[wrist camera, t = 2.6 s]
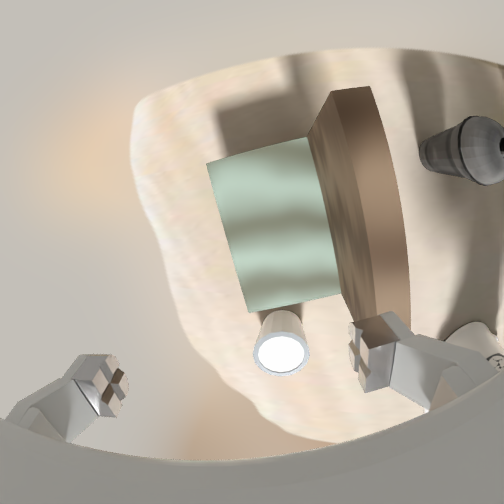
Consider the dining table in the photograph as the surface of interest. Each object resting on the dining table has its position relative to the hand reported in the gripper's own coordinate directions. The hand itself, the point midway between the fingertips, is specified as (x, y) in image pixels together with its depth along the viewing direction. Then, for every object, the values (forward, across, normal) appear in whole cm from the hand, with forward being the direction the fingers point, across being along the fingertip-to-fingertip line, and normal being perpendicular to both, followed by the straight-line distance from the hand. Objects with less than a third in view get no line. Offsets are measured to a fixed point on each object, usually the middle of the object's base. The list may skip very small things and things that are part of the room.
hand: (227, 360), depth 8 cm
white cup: (+26, +3, -16) cm, 31 cm away
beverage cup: (+25, +27, +5) cm, 37 cm away
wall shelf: (+27, +5, -1) cm, 27 cm away
